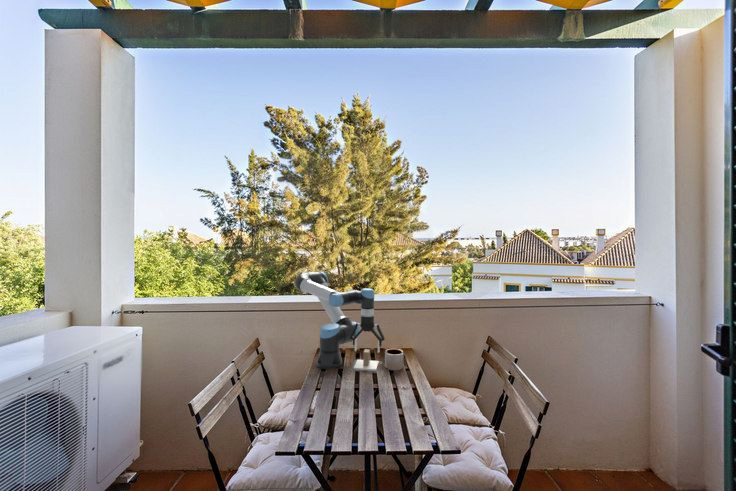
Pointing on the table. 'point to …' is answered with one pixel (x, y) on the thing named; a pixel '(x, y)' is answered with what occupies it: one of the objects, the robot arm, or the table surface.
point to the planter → (394, 359)
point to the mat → (360, 370)
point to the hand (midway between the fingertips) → (367, 351)
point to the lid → (366, 362)
